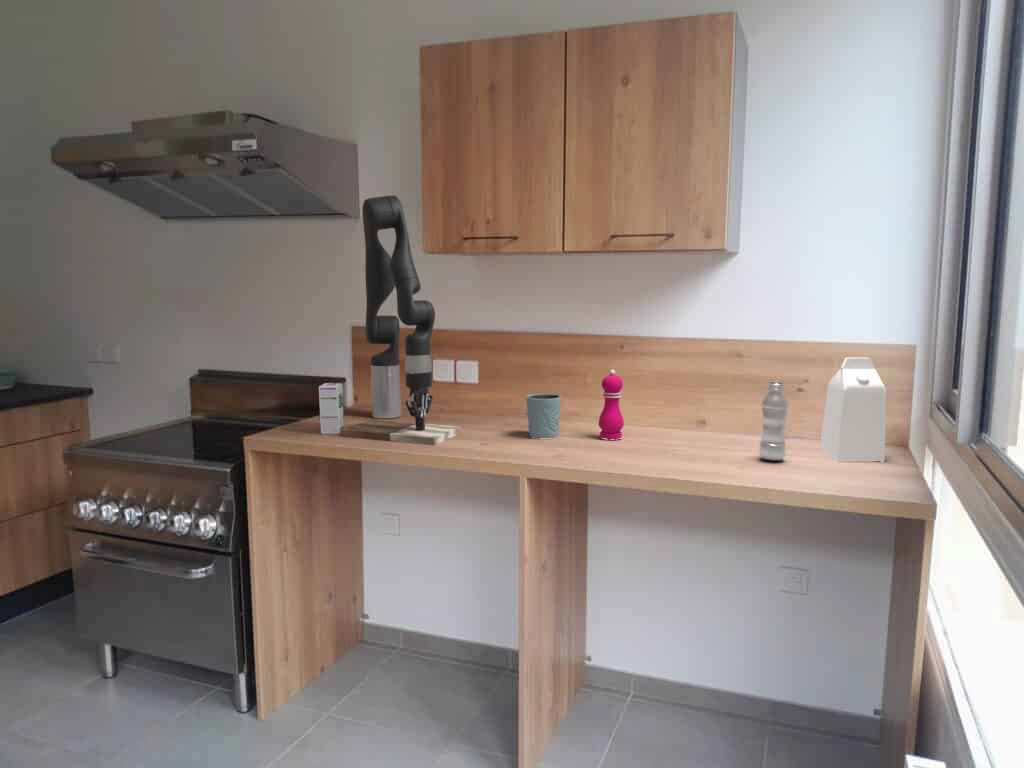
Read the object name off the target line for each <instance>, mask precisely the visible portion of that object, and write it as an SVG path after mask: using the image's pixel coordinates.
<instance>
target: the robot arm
mask: <svg viewBox="0 0 1024 768" xmlns="http://www.w3.org/2000/svg"><path fill="white" fill-rule="evenodd" d="M361 212H362V222H363V223H362V224H363V225H362V226H363V233H364V245H365V246H364V247H365V263H364V264H365V266H364V268H365V272H364V273H365V274H364V275H365V290H366V291H365V294H366V309H365V311H366V313H365V336H366V337H365V338H366V341H367V342H368V344H372V345H389V346H388V347H387V349H385V350H383V351H382V352H379V353H375V354H374V355H372V356H371V357H370V373H371V374H370V377H371V383H370V384H371V387H370V388H371V417H372V418H375V419H395V418H399V417H401V415H402V399H401V397H402V395H401V392H402V391H401V389H402V388H401V383H400V382H401V381H400V377H401V374H400V329H401V327H400V326H401V325H400V321H401V323H402V324H403V325H405V326H407V327H409V326H410V327H411V326H415V329H414V331H413V332H412V333H410V334H408V335H406V337H405V339H404V341H405V342H404V344H405V349H404V350H405V359H404V369H405V370H404V371H405V377H404V378H405V387H406V388H408V389H409V399H408V400H405V403H404V404H405V406H406V408H407V410H408V412H409V415H410V416H411V417H413V418H415V423H416V430H418V431H422V430H424V429H425V424H426V423H425V422H426V421H425V418H426V417H427V415H429V411H430V409H431V406H432V402H433V395H430V394H429V392H430V391H429V388H431V387H432V386H433V372H432V369H433V367H432V357H431V337H432V333H433V328H434V324H435V319H436V311H435V308H434V305H433V304H432V303H431V302H430V301H429V300H425V299H423V300H422V299H421V300H418V299H417V300H414V295H416V294H417V293H419V291H420V290H421V287H422V286H421V282H420V279H419V275H418V272H417V270H416V267H415V263H414V260H413V255H412V250H411V245H410V240H409V239H410V238H409V232H408V228H407V222H406V218H405V213H404V209H403V206H402V202H401V201H400V199H399V198H398V196H396V195H394V194H393V195H384V196H375V197H370V198H366V199H365V200H363V204H362V209H361ZM387 229H394V232H395V243H394V244H395V245H394V249H393V252H392V254H391V255H390V254H389V253H388V251H387V250H386V249H385V247H383V244H382V243H381V242H380V240H379V237H378V236H379V235H378V232H379V231H380V230H381V231H382V230H387ZM394 289H396V309H397V316H396V315H378V313H379V310H380V308H381V307H382V305H383V304H384V302H386V300H387V299H388V298H389V297H390V295H391V294H392V293H393V291H394Z"/></svg>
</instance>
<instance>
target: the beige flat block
mask: <svg viewBox="0 0 1024 768" xmlns="http://www.w3.org/2000/svg"><path fill="white" fill-rule="evenodd" d="M460 434H461V426H457V425H445V424H433V423H425V429H424V430H422V431H418V430H416V424H414V425H412V426H409V427H407V428H404V429H401V430H399V431H396V432H394V433H391V434H390V442H396V443H397V442H399V443H408V444H420V445H429V446H436V445H438V444H440V443H442V442H444V441H447V440H448V439H451V438H453V437H455V436H458V435H460Z"/></svg>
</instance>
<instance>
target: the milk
mask: <svg viewBox="0 0 1024 768" xmlns="http://www.w3.org/2000/svg"><path fill="white" fill-rule="evenodd" d="M824 405H825V407H824V414H823V415H824V416H823V423H822V428H821V439H820V443H819V444H820V446H819V451H820V450H821V451H823V452H824V453H826V454H828V455H829V456H831V457H832V458H834V459H836V460H880V461H884V460H885V458H886V456H885V453H886V450H885V449H886V419H887V418H886V412H887V410H886V409H887V407H886V406H887V390H886V387H885V385H884V383H883V381H882V379H881V377H880V375H879V373H878V371H877V370H876V368H875V365H874V362H873V361H872V358H871V357H845V358H844V360H843V362H842V364H841V366H840V368H839V369H838V371H836V373H834V375H833V376H832V378H831V379H830V381H829V382H828V386H827V390H826V400H825V404H824Z"/></svg>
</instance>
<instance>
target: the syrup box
mask: <svg viewBox="0 0 1024 768" xmlns="http://www.w3.org/2000/svg"><path fill="white" fill-rule="evenodd" d="M343 392H344V391H343V383H342V382H327V383H326V382H325V383H323V384H321V385H319V386H318V398H319V399H318V401H319V402H318V403H319V404H318V405H319V419H320V421H319V424H320V434H321V435H341V431H340V430H341V429H344V428H345V417H344V416H345V414H344V393H343Z"/></svg>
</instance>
